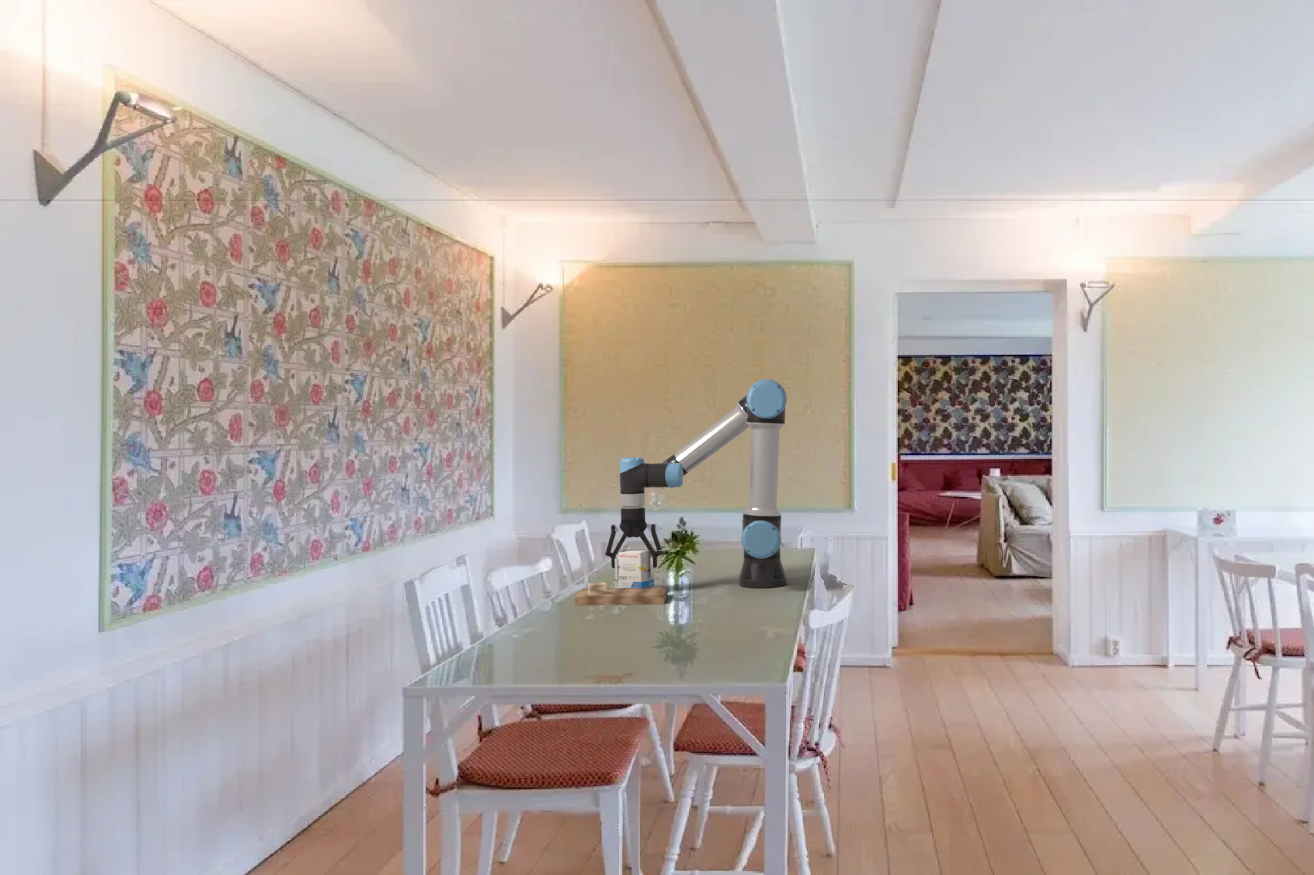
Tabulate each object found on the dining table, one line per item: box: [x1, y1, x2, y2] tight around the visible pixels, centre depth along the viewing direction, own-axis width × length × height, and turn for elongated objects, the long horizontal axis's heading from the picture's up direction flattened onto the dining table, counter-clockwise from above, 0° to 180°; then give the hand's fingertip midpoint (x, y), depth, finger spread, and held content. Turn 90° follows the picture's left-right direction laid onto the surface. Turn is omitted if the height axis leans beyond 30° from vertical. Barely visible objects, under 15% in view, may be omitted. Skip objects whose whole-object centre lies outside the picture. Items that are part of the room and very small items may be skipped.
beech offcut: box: [587, 582, 607, 596], centre depth 300 cm, size 5×4×3 cm
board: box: [574, 586, 669, 606], centre depth 303 cm, size 26×14×3 cm, turn 85°
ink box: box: [616, 548, 655, 588], centre depth 316 cm, size 9×8×12 cm
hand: (634, 578), depth 315 cm, fingers closed on ink box, 10 cm apart
